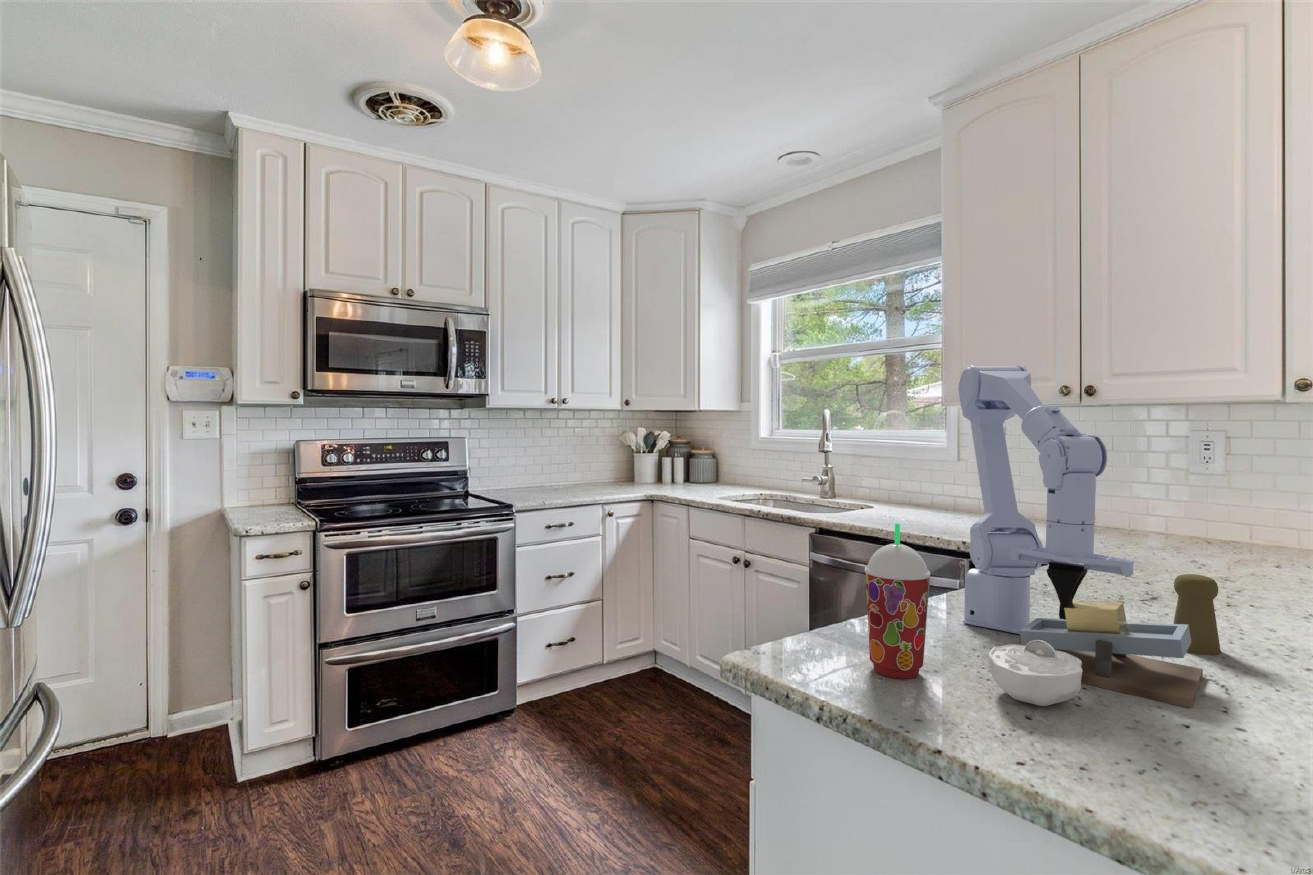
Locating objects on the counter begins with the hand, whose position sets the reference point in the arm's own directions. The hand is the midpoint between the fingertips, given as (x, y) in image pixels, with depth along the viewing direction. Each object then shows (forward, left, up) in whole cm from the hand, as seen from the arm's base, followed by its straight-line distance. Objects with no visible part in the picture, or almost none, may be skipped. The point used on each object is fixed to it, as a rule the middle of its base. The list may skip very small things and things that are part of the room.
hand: (1067, 618), depth 93 cm
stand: (+5, 0, -6) cm, 8 cm away
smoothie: (-16, -20, -7) cm, 26 cm away
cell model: (0, -17, -7) cm, 18 cm away
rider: (+4, 0, -2) cm, 4 cm away
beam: (+4, 0, -3) cm, 5 cm away
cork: (+12, +21, -7) cm, 25 cm away
